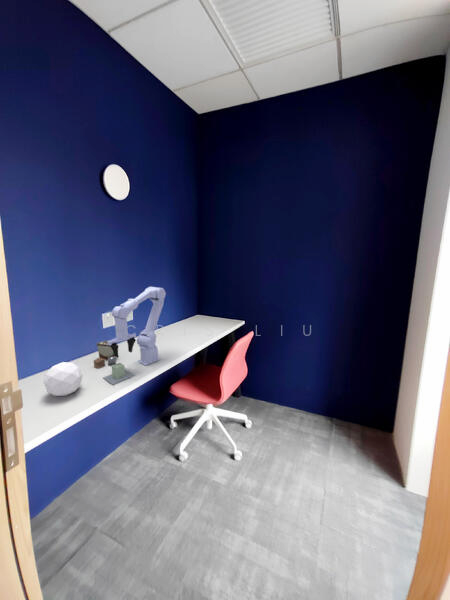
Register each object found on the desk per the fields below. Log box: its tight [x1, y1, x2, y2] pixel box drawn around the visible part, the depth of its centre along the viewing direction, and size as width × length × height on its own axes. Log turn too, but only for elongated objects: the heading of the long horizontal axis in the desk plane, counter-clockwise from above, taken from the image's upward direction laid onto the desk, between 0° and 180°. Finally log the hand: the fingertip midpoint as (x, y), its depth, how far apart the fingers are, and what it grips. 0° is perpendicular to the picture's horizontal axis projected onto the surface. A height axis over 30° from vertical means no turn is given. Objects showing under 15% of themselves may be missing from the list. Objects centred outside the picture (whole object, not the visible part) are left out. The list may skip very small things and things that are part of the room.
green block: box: [111, 362, 126, 379], centre depth 129 cm, size 4×4×6 cm
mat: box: [102, 368, 136, 386], centre depth 130 cm, size 12×10×1 cm
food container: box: [96, 340, 115, 361], centre depth 151 cm, size 12×6×10 cm, turn 74°
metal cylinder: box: [107, 356, 117, 366], centre depth 144 cm, size 4×4×4 cm
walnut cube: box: [93, 357, 106, 370], centre depth 141 cm, size 4×4×4 cm
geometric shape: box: [43, 361, 83, 397], centre depth 114 cm, size 14×15×15 cm
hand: (123, 354), depth 133 cm, fingers open, 7 cm apart
